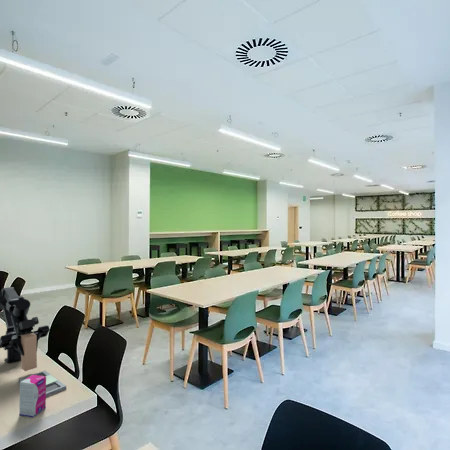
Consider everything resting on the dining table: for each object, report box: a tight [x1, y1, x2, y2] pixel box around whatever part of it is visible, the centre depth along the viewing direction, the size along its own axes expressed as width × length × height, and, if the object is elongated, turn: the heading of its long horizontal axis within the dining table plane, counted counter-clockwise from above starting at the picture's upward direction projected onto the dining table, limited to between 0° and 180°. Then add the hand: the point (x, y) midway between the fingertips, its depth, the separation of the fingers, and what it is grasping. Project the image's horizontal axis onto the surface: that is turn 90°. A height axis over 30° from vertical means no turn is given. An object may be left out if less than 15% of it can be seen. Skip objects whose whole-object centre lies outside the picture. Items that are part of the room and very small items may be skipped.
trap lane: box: [18, 369, 67, 398], centre depth 127 cm, size 20×10×1 cm, turn 50°
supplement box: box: [18, 374, 47, 418], centre depth 109 cm, size 6×6×12 cm
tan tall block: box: [20, 333, 38, 372], centre depth 136 cm, size 4×4×14 cm
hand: (30, 353), depth 135 cm, fingers closed on tan tall block, 4 cm apart
